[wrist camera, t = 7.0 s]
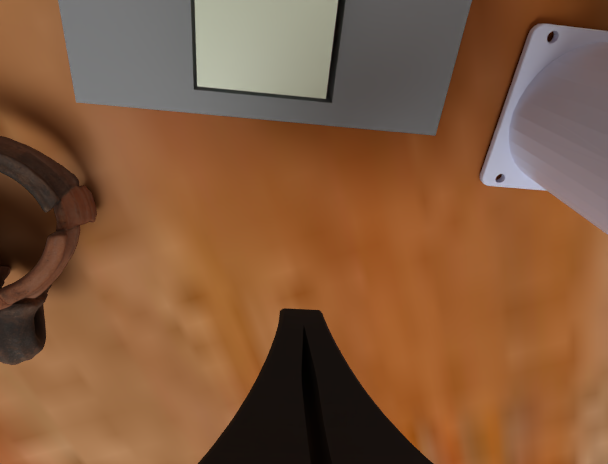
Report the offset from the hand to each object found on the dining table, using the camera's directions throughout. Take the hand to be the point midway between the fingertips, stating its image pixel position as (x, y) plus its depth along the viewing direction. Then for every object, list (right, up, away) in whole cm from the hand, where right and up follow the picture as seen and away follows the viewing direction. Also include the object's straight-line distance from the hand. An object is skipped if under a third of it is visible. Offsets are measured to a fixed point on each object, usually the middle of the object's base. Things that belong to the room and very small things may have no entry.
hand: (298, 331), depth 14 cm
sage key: (-1, +13, +4) cm, 14 cm away
